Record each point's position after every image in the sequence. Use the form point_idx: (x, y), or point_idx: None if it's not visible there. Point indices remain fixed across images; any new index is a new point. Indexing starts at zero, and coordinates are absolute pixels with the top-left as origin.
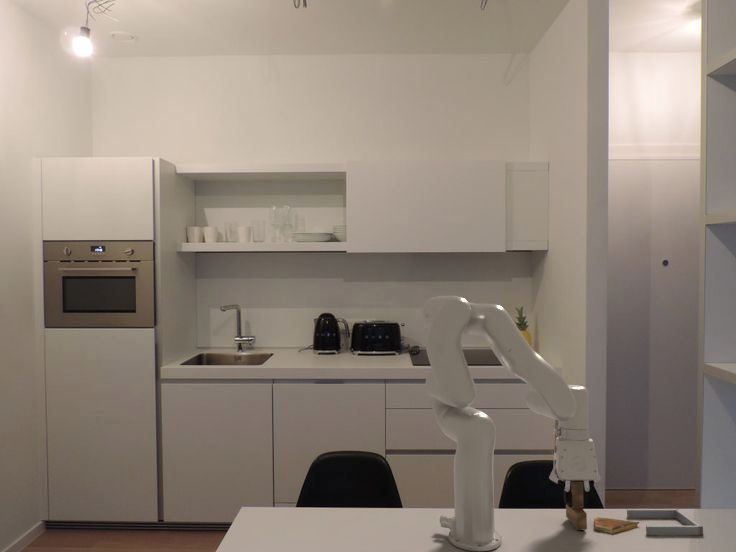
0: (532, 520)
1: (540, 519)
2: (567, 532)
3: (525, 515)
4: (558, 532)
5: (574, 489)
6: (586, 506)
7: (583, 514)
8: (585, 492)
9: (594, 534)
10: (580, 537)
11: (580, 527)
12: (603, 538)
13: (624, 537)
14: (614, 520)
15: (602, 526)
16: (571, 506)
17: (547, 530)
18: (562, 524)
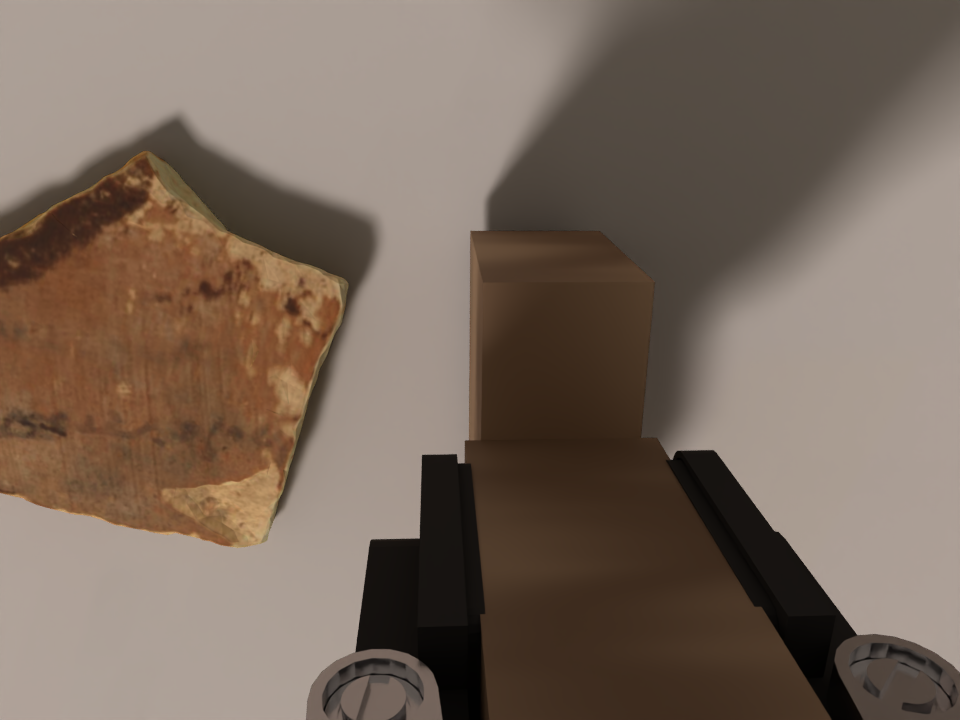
0: (950, 529)
1: (852, 554)
2: (713, 214)
3: (957, 642)
4: (821, 215)
5: (725, 668)
6: (423, 456)
7: (532, 280)
8: (435, 615)
9: (401, 151)
10: (616, 58)
11: (556, 237)
12: (325, 19)
13: (28, 47)
14: (34, 448)
15: (251, 260)
16: (684, 453)
17: (922, 273)
18: (672, 434)
